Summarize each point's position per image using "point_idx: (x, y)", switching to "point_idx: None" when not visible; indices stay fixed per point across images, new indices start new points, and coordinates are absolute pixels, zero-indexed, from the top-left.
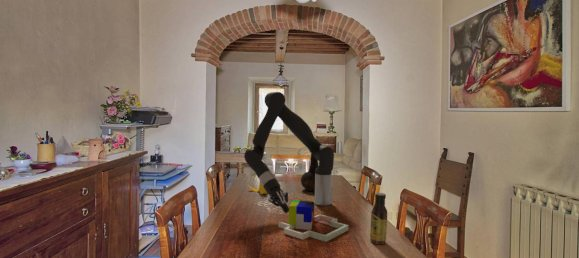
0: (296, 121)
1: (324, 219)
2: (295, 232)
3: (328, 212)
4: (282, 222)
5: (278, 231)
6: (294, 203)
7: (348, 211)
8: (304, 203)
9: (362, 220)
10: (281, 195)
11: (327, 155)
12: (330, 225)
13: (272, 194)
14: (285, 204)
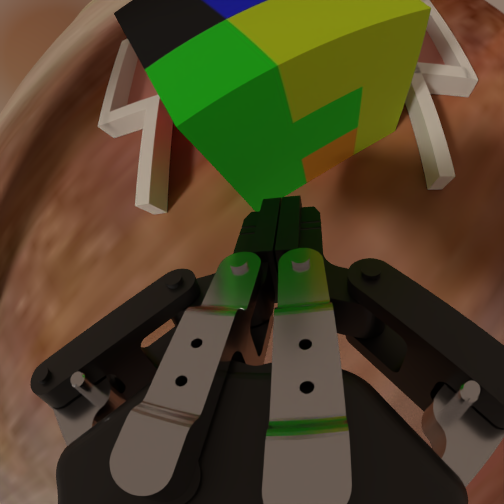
0: None
1: (125, 97)
2: (444, 24)
3: (29, 192)
4: (436, 148)
5: (480, 137)
6: (308, 13)
7: (5, 156)
8: None
9: (67, 57)
10: (214, 380)
11: None
12: None
13: (456, 480)
14: (268, 245)
